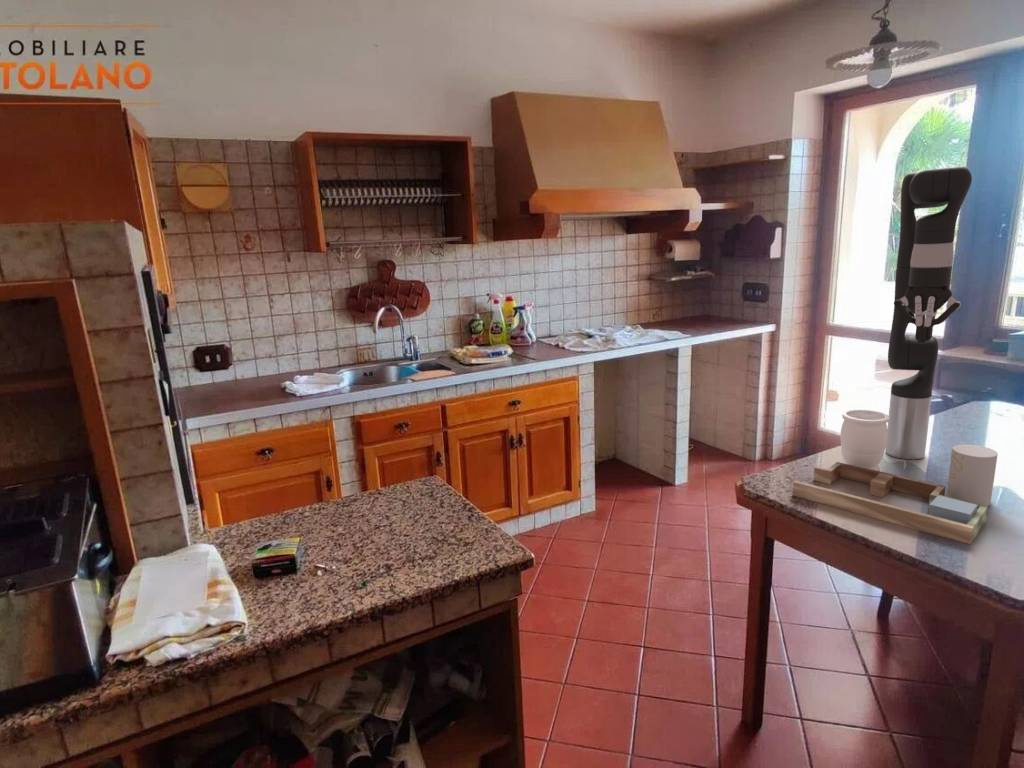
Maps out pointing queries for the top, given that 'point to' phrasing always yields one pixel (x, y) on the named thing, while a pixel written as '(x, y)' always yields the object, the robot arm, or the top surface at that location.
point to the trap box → (901, 516)
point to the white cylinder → (972, 473)
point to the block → (952, 509)
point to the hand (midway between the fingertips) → (922, 342)
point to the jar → (864, 438)
